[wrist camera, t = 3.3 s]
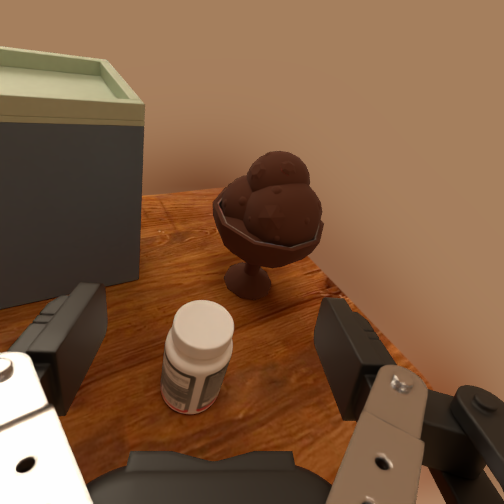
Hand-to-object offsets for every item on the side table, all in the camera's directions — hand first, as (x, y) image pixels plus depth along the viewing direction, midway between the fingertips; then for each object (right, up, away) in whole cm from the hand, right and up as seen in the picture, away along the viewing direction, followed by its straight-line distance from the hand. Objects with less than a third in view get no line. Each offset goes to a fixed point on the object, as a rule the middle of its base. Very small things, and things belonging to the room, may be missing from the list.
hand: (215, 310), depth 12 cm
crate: (-18, +2, +21) cm, 28 cm away
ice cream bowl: (+1, -1, +25) cm, 25 cm away
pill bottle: (-4, -9, +14) cm, 17 cm away
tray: (-14, +14, +12) cm, 23 cm away
